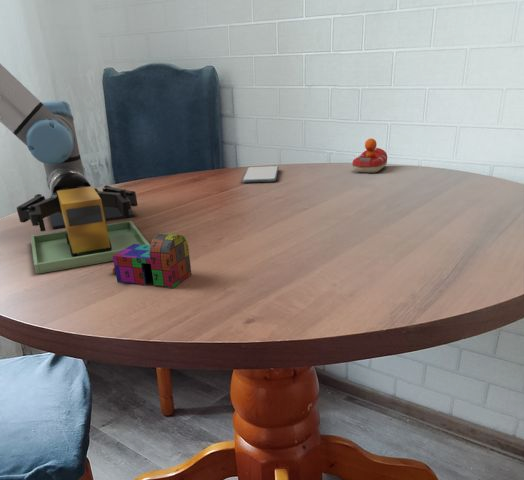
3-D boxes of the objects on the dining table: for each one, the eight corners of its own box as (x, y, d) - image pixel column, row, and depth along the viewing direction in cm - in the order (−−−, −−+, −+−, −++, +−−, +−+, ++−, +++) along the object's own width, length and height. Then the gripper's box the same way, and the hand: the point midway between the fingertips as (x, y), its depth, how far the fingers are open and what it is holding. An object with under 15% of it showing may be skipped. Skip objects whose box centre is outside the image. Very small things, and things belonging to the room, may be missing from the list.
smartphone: (242, 179, 133) (247, 166, 146) (242, 183, 134) (248, 170, 146) (275, 178, 132) (278, 165, 145) (275, 182, 133) (278, 169, 146)
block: (199, 268, 82) (194, 224, 79) (172, 288, 76) (166, 241, 72) (132, 261, 86) (125, 219, 83) (102, 280, 80) (92, 235, 77)
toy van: (72, 260, 88) (59, 204, 83) (66, 241, 97) (54, 190, 93) (113, 253, 90) (103, 198, 85) (104, 235, 99) (94, 185, 95)
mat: (53, 228, 106) (52, 226, 106) (48, 212, 117) (48, 210, 117) (134, 216, 111) (133, 214, 111) (122, 202, 122) (122, 200, 122)
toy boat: (389, 165, 144) (391, 135, 140) (378, 174, 135) (380, 142, 131) (361, 164, 147) (362, 135, 143) (349, 173, 138) (350, 141, 134)
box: (36, 274, 84) (33, 264, 83) (32, 244, 98) (30, 235, 97) (151, 254, 89) (150, 245, 89) (132, 228, 103) (131, 220, 103)
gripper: (137, 201, 112) (162, 227, 94) (9, 220, 104) (10, 251, 87) (131, 164, 108) (155, 183, 91) (-2, 180, 100) (-4, 204, 83)
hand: (84, 216), depth 89 cm, fingers open, 13 cm apart
